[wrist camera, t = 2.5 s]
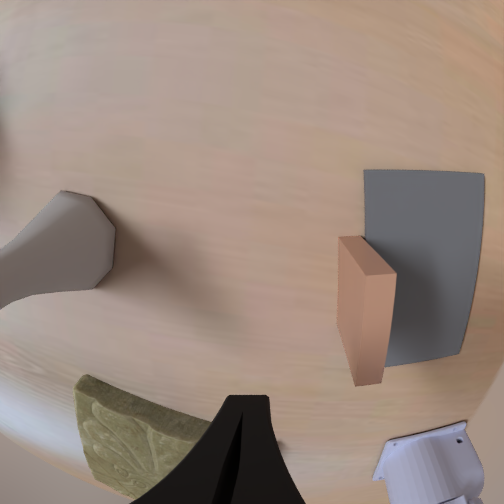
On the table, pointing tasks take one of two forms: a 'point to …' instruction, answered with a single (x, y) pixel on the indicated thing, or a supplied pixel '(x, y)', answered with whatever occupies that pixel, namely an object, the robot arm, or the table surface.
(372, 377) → the tile
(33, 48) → the table surface
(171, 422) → the decorative tile
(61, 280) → the flask
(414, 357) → the mat
